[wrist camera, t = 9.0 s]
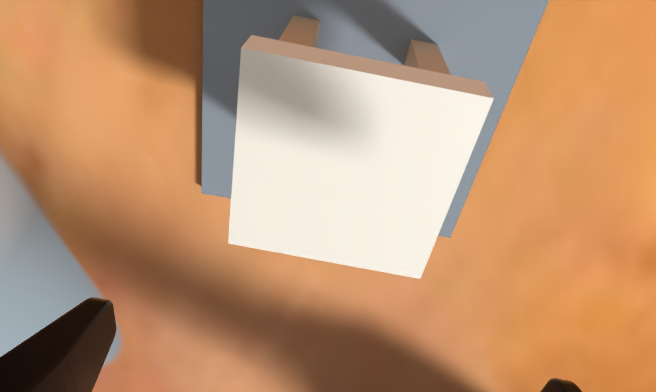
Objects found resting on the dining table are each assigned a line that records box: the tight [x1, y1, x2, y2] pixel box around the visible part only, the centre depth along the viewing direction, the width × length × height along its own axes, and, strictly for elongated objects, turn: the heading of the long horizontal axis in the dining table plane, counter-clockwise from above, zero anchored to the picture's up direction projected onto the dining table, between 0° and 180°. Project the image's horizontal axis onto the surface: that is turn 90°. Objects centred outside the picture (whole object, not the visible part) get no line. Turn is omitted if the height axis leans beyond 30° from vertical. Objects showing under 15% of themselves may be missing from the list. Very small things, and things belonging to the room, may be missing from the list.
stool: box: [228, 15, 494, 279], centre depth 16 cm, size 6×6×6 cm
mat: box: [202, 0, 549, 238], centre depth 18 cm, size 12×12×1 cm
